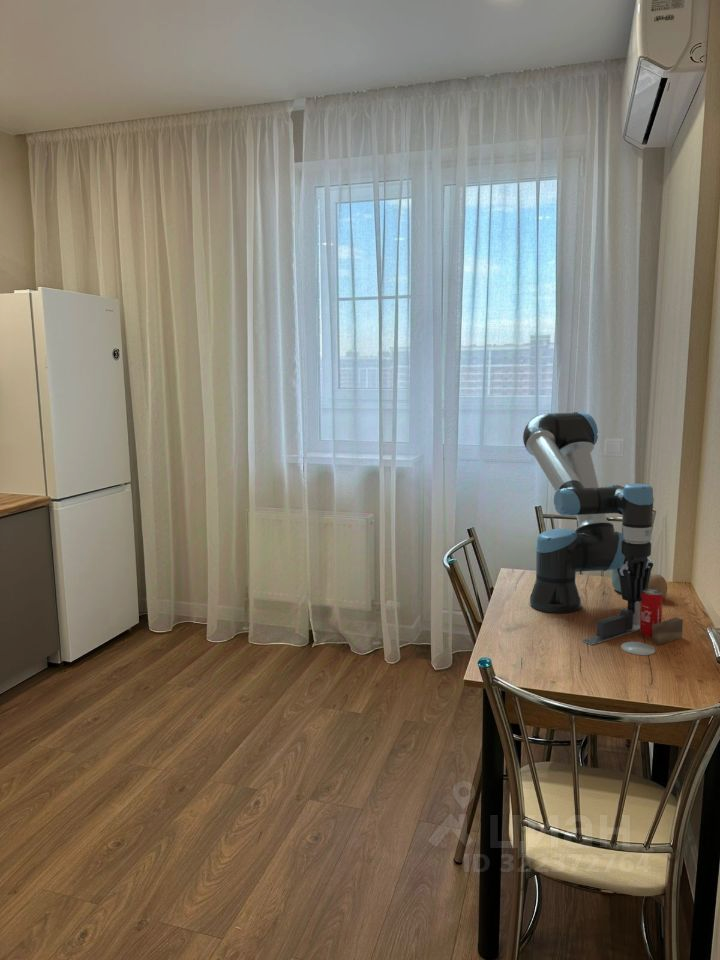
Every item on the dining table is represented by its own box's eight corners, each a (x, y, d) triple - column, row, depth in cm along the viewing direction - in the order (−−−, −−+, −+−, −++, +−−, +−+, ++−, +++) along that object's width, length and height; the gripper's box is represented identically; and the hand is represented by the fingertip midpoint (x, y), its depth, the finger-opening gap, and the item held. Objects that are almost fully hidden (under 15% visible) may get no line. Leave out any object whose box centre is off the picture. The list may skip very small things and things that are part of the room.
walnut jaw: (652, 643, 174) (652, 624, 173) (675, 635, 179) (675, 617, 179) (659, 645, 172) (659, 627, 172) (682, 637, 178) (682, 619, 177)
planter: (603, 586, 224) (604, 555, 222) (638, 584, 225) (639, 553, 224) (621, 597, 212) (622, 564, 210) (658, 595, 213) (659, 562, 211)
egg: (671, 600, 208) (672, 575, 207) (657, 603, 205) (658, 577, 204) (654, 595, 214) (655, 570, 213) (640, 598, 211) (641, 572, 210)
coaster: (614, 647, 172) (614, 646, 171) (634, 641, 176) (634, 639, 176) (642, 657, 165) (642, 656, 165) (661, 650, 169) (662, 649, 169)
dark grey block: (595, 635, 178) (596, 616, 178) (624, 626, 185) (624, 608, 184) (603, 638, 176) (604, 619, 176) (632, 628, 182) (633, 610, 182)
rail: (581, 641, 176) (581, 640, 176) (641, 622, 189) (641, 621, 189) (591, 645, 173) (591, 644, 173) (651, 625, 186) (651, 624, 186)
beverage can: (662, 638, 177) (664, 595, 175) (642, 637, 178) (643, 594, 176) (658, 631, 182) (660, 589, 180) (638, 630, 183) (639, 588, 181)
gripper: (633, 546, 175) (630, 632, 178) (663, 539, 182) (659, 622, 185) (609, 541, 181) (606, 624, 184) (638, 535, 188) (635, 615, 191)
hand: (633, 623), depth 185 cm, fingers closed
